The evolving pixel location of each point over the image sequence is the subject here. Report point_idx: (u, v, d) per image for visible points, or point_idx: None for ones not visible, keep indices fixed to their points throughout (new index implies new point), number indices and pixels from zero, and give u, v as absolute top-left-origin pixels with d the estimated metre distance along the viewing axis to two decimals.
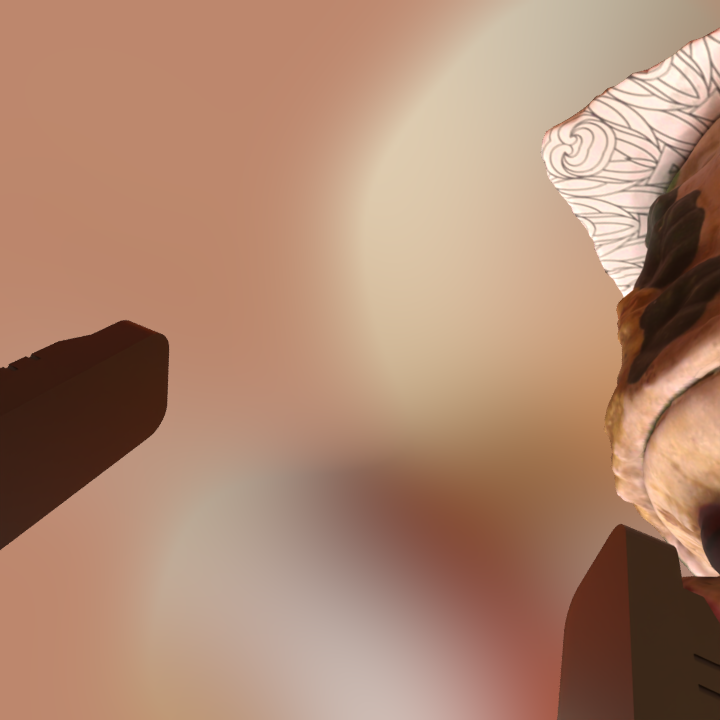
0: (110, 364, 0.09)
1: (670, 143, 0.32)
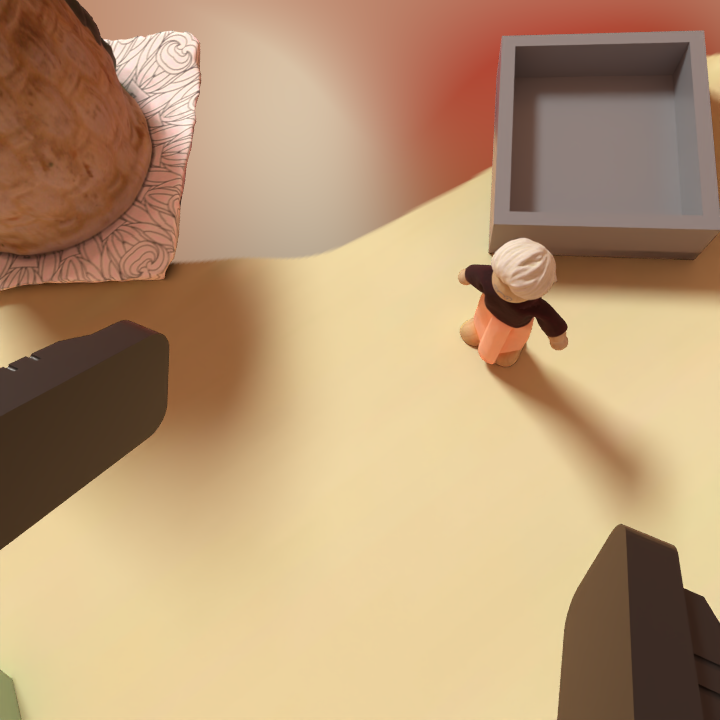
0: (110, 364, 0.09)
1: (149, 99, 0.49)
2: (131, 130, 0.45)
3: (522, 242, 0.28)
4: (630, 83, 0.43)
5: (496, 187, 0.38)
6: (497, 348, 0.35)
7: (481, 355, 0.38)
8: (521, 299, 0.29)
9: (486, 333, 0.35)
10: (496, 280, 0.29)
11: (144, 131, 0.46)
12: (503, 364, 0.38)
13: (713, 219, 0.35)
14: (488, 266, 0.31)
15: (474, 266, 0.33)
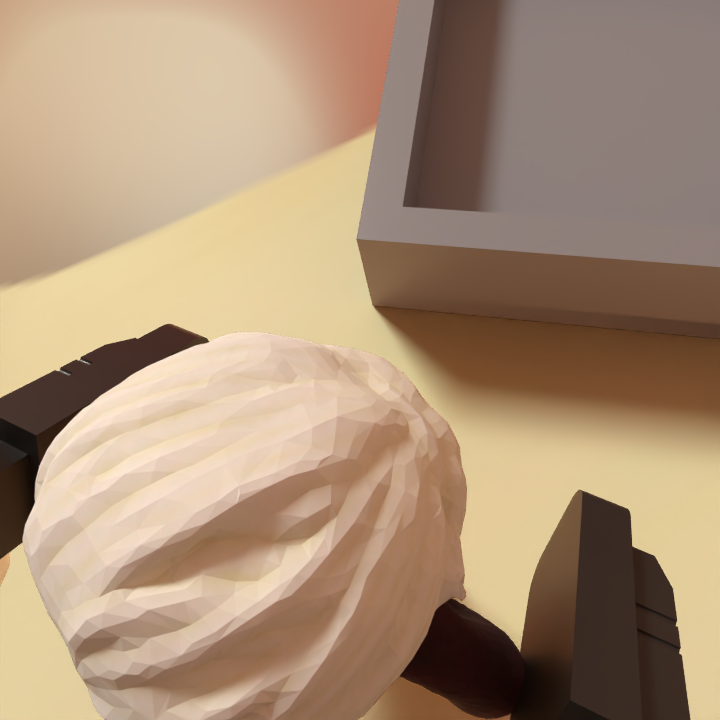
0: None
1: None
2: None
3: (226, 374, 0.04)
4: None
5: (376, 143, 0.15)
6: None
7: None
8: None
9: None
10: None
11: None
12: None
13: None
14: None
15: None
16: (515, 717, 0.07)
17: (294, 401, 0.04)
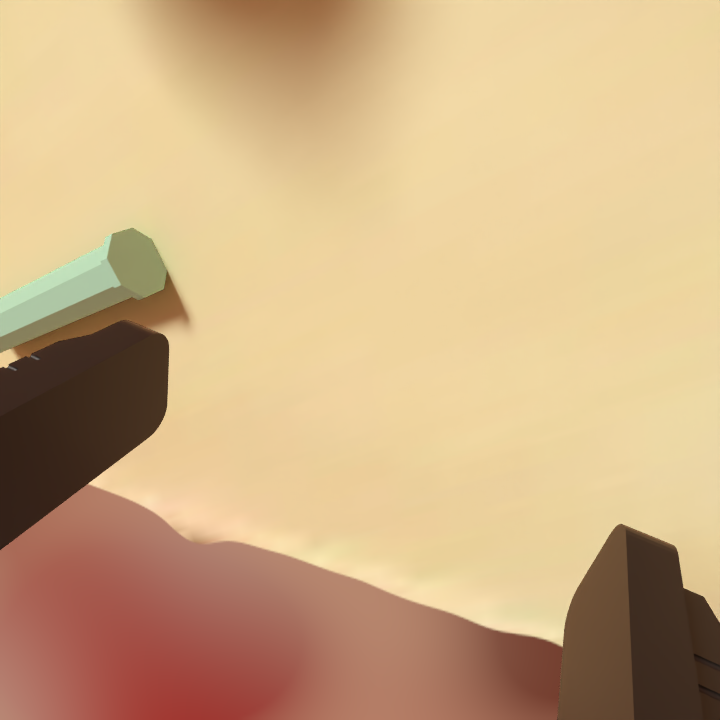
0: (110, 364, 0.09)
1: None
2: None
3: None
4: None
5: None
6: None
7: None
8: None
9: None
10: None
11: None
12: None
13: None
14: None
15: None
16: None
17: None
